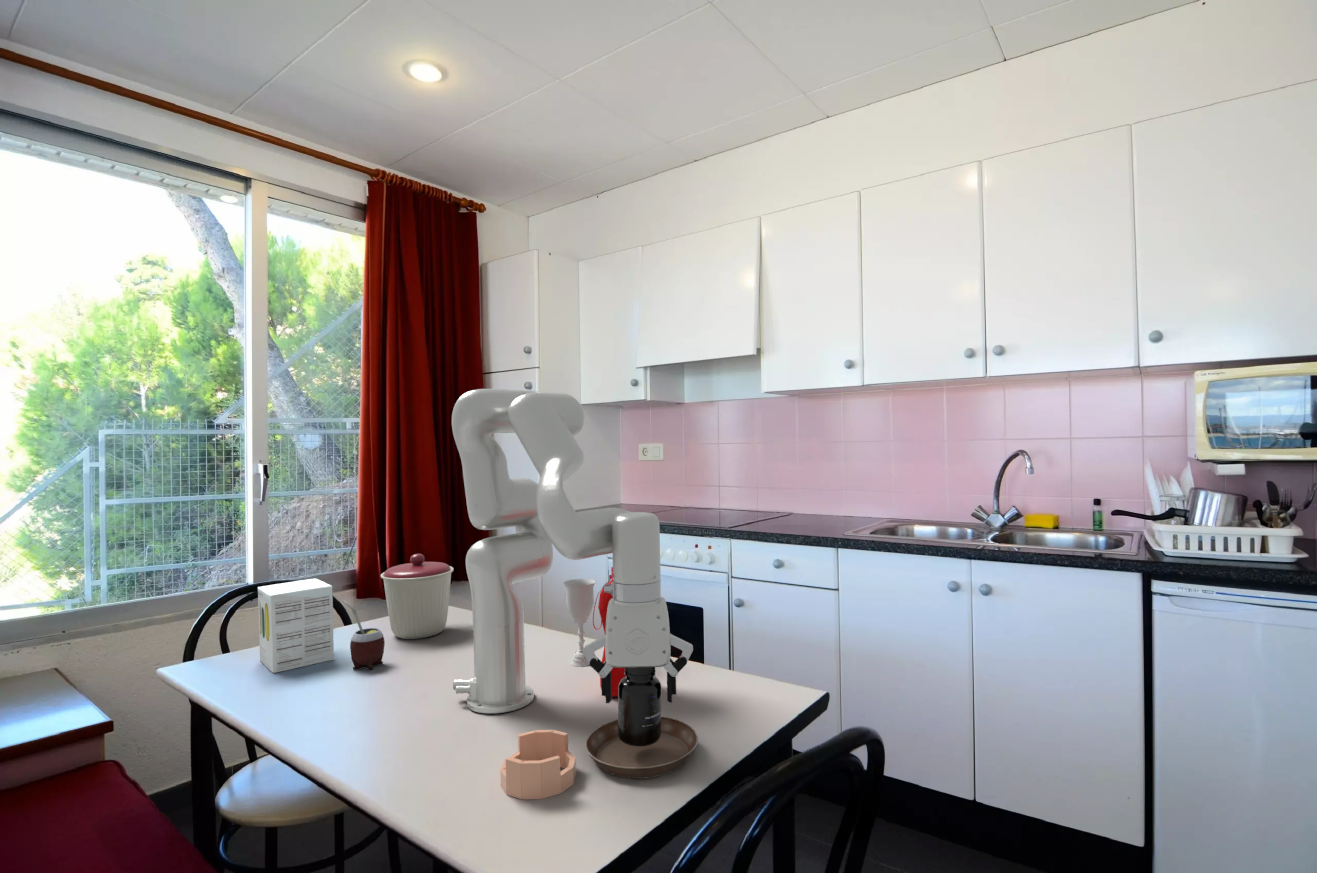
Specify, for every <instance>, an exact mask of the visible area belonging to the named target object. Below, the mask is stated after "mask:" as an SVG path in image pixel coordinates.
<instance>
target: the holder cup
mask: <svg viewBox="0 0 1317 873" xmlns="http://www.w3.org/2000/svg"><path fill="white" fill-rule="evenodd" d="M569 750H570V749H569V733H567V732H563V731H559V730H555V729H534V730H531V731H527V732H523V733H519V734H517V751H516V752H515V753H513V754H512V755H510V756H508V757H507V758H505V759H504V761H503V763H502V765H501V767H500V770H499V771H500V775H499V776H500V787H501V788H502V789H503V791H504V793H505V794H506V795H507V796H510V797H514V798H517V799H519V800H543V799H547V798H549V797H552V796H556V795H559V794H562V793H563V792H564V791H566V790H567V789H569V788H570V787H571V786H573V785H574V783H575V779H576V777H577V765H576V764H577V760H576V759H577V758H576V756H575V755H573V753H572V752H571V751H569ZM561 768H563V769H562V770H561Z"/></svg>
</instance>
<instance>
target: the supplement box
mask: <svg viewBox="0 0 1317 873" xmlns="http://www.w3.org/2000/svg"><path fill="white" fill-rule="evenodd" d="M333 598H334V597H333V585H331V584H329V583H327V582H325V581H322V580H320V579H318V578H317V577H316V578H309V579H303V580H301V579H300V580H296V581H288V582H282V583H275V584H269V585H262V586H257V602H258V603H257V604H258V606H257V607H258V609H257V610H258V629H259V630H258V633H259V661H260V662H261V663H262V664H263V665H264V666H265V667H266V668H267V669H268V670H270V672H271V673H272V674H276V673H280V672H285V671H288V670H294V669H297V668H301V667H307V666H311V665H312V666H313V665H314V664H315V665H316V664H320V663H325V662H329V661H333V660H335V651H334V650H335V648H334V647H335V644H334V642H335V641H334V603H333V602H334V599H333Z"/></svg>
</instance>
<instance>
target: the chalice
mask: <svg viewBox="0 0 1317 873" xmlns="http://www.w3.org/2000/svg"><path fill="white" fill-rule="evenodd" d="M563 584H564V587H565V594H566V595H565V597H566V602H565V603H566V604H565V605H566V607H567V610H568V612H569V614H570V616H571V618H572V621H573V623H575V624H577V627H578V631H577V635H578V639H577V641H576V642H577V643H578V649H577V650H576V651H575V652H574V653H573V655H572V658H571V661H570V663H569V664H570V666H573V667H579V668H580V667H587V666H590V663H589V661H588V660H587V658H586V656H585V654H584V652H583V649H584V647H585V646H584V644H585V642H586V640H585V638H584V634H585V631H584V624H585V623H587V622H588V620H589V619H590V615H591V613H592V611H593V609H594V605H595V602H594V601H595V600H594V596H595V595H594V592H595V591H594V586H595V584H596V581H595V580H594V579H589V578H588V579H587V578H576V579H569V580H566V581H564V582H563Z"/></svg>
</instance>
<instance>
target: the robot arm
mask: <svg viewBox="0 0 1317 873" xmlns="http://www.w3.org/2000/svg"><path fill="white" fill-rule="evenodd" d="M584 423H585V414H584V410H583V408H582V406H581V404H580V403H579V401H578V400H577V399H576V398H575V397H574V396H572V395H569V394H568V393H561V392H560V393H559V392H558V393H556V392H555V393H554V392H544V391H535V390H534V391H533V390H521V389H520V390H519V389H504V388H503V389H502V388H477V389H472V390H469V391H466V392H464V393H463V394H462V395H460V396H459V398H458V399H457V400H456V402H455V403H454V406H453V410H452V413H451V428H452V429H451V430H452V435H453V438H454V441H455V445H456V449H457V451H458V453H459V458H460V460H461V461H460V462H461V466H462V478H463V484H464V493H465V494H464V495H465V499H466V507H467V514H468V518H469V522H470V523H471V525H472V526H473V527H474V528H476V529H477V530H483V531H490V530H491V531H492V530H499V529H506V528H513V527H514V528H515V533H510V534H508V533H507V534H502V535H496V536H495V535H494V536H490V537H486V538H483V539H481V540H478V541H476V542H475V543H474V544H472V545H471V546H470V548H469V549H468V550H467V553H466V555H465V569H466V574H467V579H468V584H469V588H470V594H471V607H472V608H471V610H472V611H471V612H472V628H473V629H472V631H473V632H472V633H473V634H472V635H473V636H472V637H473V660H474V661H473V668H474V671H473V674H474V677H471V678H470V679H453V680H454V681H453V683H452V684H453V685H452V688H453V689H452V690H454V691H455V693H456V694H467V695H468V696H467V697H466V706H467V708H468V709H469V710H470V711H473V712H476V713H479V714H480V713H481V714H490V715H491V714H501V713H503V714H505V713H508V712H513V711H516V710H520V709H521V708H525V707H526V706H527V705H529V704H530V703H532V702H533V700H534V698H535V691H534V689H533V688H532V687H530V685H527V683H526V654H525V653H526V652H525V650H526V649H525V647H526V646H525V619H524V618H525V617H524V616H525V614H524V607H523V606H524V605H523V602H522V600H521V598H520V596H519V595H518V593H517V592H516V590H514V589H515V588H514V586H513V585H514V584H517V583H520V582H521V583H522V582H524V581H530V580H533V579H538V578H540V577H543V576H544V575H546V574H547V573H548V572H549V571H550V569H552V568H551V567H552V564H553V559H554V548H555V549H556V550H557V552H558V553H560V555H561V556H563V557H564V558H566V559H568V560H572V561H579V560H584V559H589V558H593V557H598V556H604V555H611V554H612V567H613V582H612V583H611V584H608V585H605V584H603V586H604V593H609V594H611V596H613V598H612V599H611V600H610V601H609V603H608V608H607V616H606V634H605V633H604V635H603V636H601V637H599V638H597V639H595V640H593V642H590V643H588V644H586V645H585V646H583V647H584V649H583V652H584V654H585V656H586V658H587V660H588V661H589V663H590V665H589V666H590V667H591V668H592V669H593V670H594V671H595V672H596V673H597V674H598V676H599V678H600V677H601V684H602V690H601V696H603V697H605V704H610V703H611V702H612V698H613V697H612V676H611V673H610V671H611V670H612V668H613V667H615V668H636V667H644V668H646V667H655V668H661V667H663V668H664V669H665V670H666V688H667V691H666V693H667V694H666V695H667V702H668V703H673V696H674V695H675V696H676V695H677V676H678V674H679V672H681V671H682V670H683V668H685V666H686V665H687V664H688V661H689V659H690V657H691V655H692V653H693V651H694V645H693V644H692V643H690V642H688V641H686V640H684V639H682V638H680V637H678V636H675V635H674V634H672V633H671V631H670V630H671V629H670V628H671V627H670V618H669V611H668V605H667V601H666V599H665V598H664V597H663V596H662V592H661V591H662V587H661V586H662V585H661V581H662V580H661V542H660V540H661V539H660V538H661V536H660V535H661V534H660V533H661V532H660V531H661V528H660V520H659V517H658V516H657V515H656V514H654V513H653V512H652V513H651V512H645V511H629V510H626V509H623V508H620V507H605V508H596V509H588V510H582V511H576V509H575V508H574V507H573V505H572V503H571V502H570V500H569V499H568V497H567V494H566V492H565V489H564V485H563V483H564V482H565V481H566V480H568V479H569V478H571V477H572V476H573V475H574V474H576V472H578V471H579V469H580V468H581V467H582V465H583V463H584V459H585V455H584V452H583V450H582V448H581V446H580V445H579V444H578V442H577V440H576V438H575V436H577V435H578V434H580V432H581V431H582V429H583V427H584ZM513 433H514V434H516V437H517V438H518V440H519V441H520V443H521V445H522V446H523V449H524V451H525V452H526V454H527V456H528V457H529V459H530V461H531V463H532V464H533V466H534V468H535V470H536V471H537V473H538V475H539V479H538V480H539V481H538V482H536V481H534V480H533V479H530V478H510V474H509V469H508V461H507V460H508V459H507V457H506V453H505V452H504V450H503V449H502V447H501V445H500V444H499V442H498V441H497V440H496V439H495V438H494V437H493V436H492V435H493V434H513ZM553 546H554V547H553ZM604 646H605V657H606V661H605V662H604V663H602V660H600V659H599V657H597V655H596V653H595V652H597V651H598V650H601V649H603V647H604ZM671 646H672V647H675V648H677V649H679V650H680V651H682V652H681V654H680V655H679V656H678V658H676V660H675V661H674V660H673V659H672V658H671V653H672V652H671V648H672V647H671Z"/></svg>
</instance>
